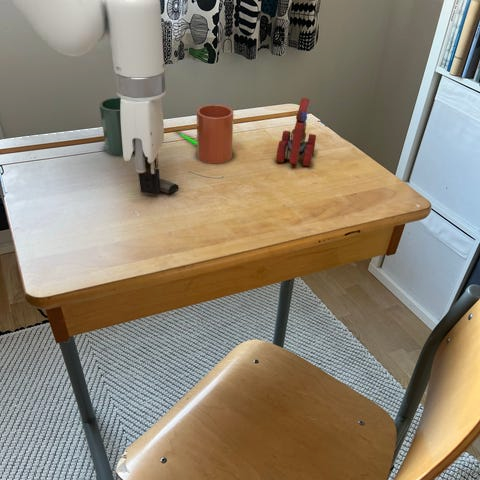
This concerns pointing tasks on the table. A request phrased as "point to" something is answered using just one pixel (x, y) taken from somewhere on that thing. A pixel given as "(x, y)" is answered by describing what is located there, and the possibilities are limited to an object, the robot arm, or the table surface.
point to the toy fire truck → (297, 139)
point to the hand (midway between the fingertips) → (150, 190)
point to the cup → (214, 133)
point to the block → (167, 186)
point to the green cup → (112, 125)
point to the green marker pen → (190, 139)
